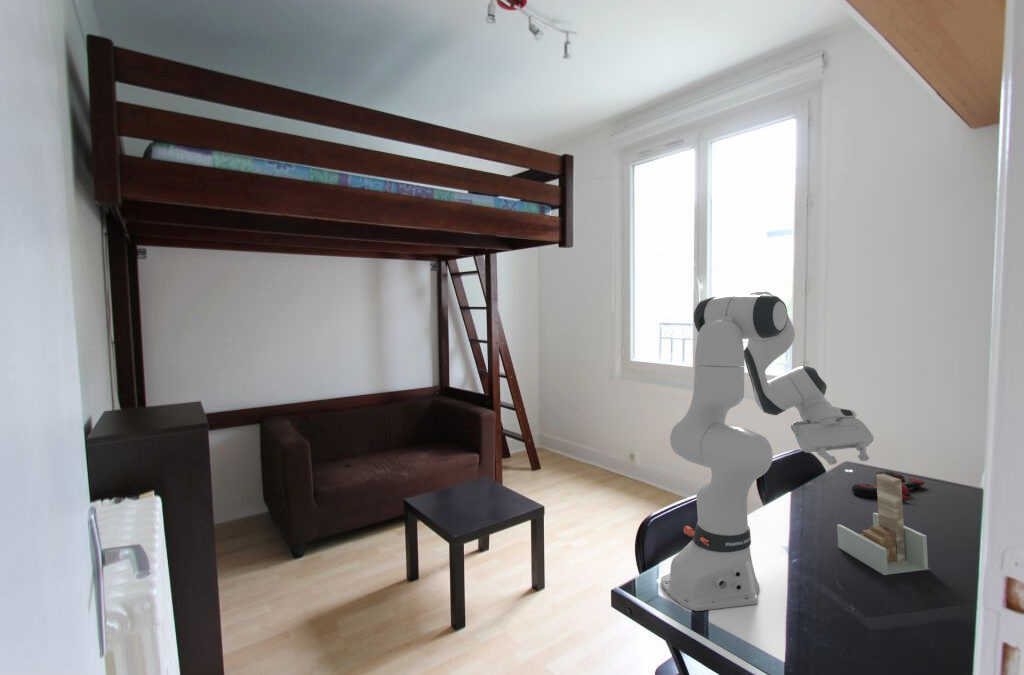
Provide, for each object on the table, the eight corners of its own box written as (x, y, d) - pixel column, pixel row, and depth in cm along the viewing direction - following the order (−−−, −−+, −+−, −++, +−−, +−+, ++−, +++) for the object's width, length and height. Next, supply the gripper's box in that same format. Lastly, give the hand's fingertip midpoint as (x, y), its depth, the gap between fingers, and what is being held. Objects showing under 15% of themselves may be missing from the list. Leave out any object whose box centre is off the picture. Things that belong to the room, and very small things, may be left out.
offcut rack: (884, 581, 112) (882, 541, 112) (838, 552, 126) (836, 517, 125) (929, 575, 113) (927, 535, 113) (879, 547, 127) (877, 512, 126)
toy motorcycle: (849, 499, 162) (905, 505, 149) (845, 483, 163) (901, 488, 149) (883, 483, 175) (938, 488, 161) (880, 469, 175) (934, 472, 162)
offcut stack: (875, 565, 116) (873, 537, 116) (855, 553, 122) (853, 526, 122) (898, 562, 116) (896, 534, 116) (877, 551, 122) (875, 524, 122)
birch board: (897, 561, 117) (893, 480, 116) (880, 551, 122) (876, 474, 121) (905, 560, 117) (901, 479, 116) (887, 550, 122) (883, 473, 121)
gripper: (792, 416, 137) (819, 459, 128) (859, 410, 139) (890, 452, 130) (783, 428, 142) (808, 471, 132) (847, 422, 144) (877, 463, 134)
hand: (849, 461), depth 131 cm, fingers open, 8 cm apart
